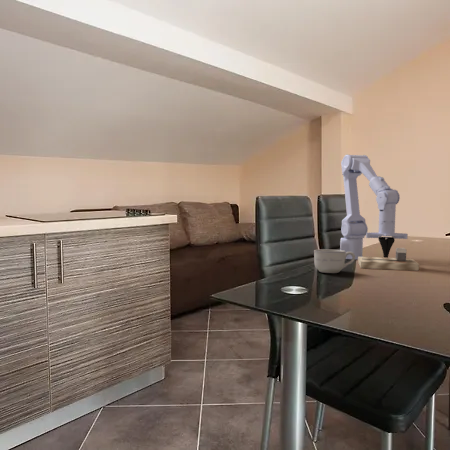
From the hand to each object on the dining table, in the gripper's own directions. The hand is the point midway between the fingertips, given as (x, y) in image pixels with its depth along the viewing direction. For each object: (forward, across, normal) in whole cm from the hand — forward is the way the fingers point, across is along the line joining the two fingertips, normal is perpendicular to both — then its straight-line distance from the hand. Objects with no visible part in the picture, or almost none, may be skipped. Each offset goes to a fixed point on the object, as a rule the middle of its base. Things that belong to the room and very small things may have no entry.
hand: (385, 257), depth 154 cm
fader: (+1, +5, 0) cm, 5 cm away
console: (+4, 0, 0) cm, 4 cm away
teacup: (+4, -20, -17) cm, 26 cm away
